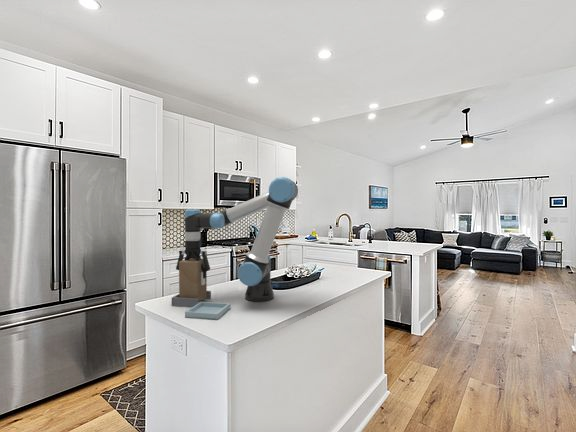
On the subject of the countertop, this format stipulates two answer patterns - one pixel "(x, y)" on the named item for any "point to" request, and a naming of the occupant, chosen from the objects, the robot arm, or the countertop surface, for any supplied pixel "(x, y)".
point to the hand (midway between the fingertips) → (193, 284)
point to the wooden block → (191, 280)
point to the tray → (208, 310)
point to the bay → (187, 300)
